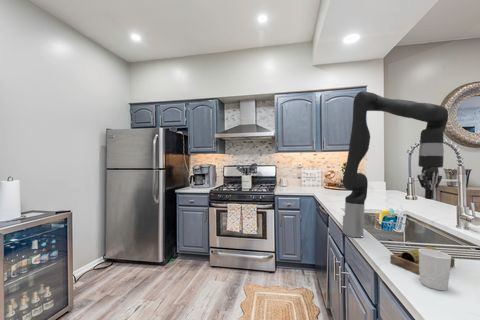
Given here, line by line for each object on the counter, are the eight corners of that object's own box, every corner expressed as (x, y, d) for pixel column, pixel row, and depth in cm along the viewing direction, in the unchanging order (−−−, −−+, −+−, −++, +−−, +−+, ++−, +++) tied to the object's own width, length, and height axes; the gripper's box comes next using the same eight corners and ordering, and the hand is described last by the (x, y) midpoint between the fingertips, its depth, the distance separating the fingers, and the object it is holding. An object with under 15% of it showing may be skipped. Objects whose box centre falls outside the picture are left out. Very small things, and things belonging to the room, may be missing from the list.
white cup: (411, 277, 76) (412, 247, 76) (435, 279, 76) (436, 249, 76) (430, 291, 68) (431, 257, 68) (457, 292, 68) (458, 259, 68)
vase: (445, 258, 85) (420, 263, 80) (432, 265, 89) (407, 270, 84) (431, 243, 90) (407, 247, 84) (420, 250, 93) (396, 254, 88)
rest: (390, 262, 87) (390, 255, 87) (421, 255, 96) (422, 248, 96) (422, 276, 78) (422, 267, 78) (454, 266, 86) (454, 258, 87)
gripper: (429, 156, 96) (427, 197, 96) (410, 154, 91) (408, 197, 91) (451, 156, 89) (449, 200, 89) (432, 154, 84) (430, 201, 84)
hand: (429, 198), depth 90 cm, fingers closed
